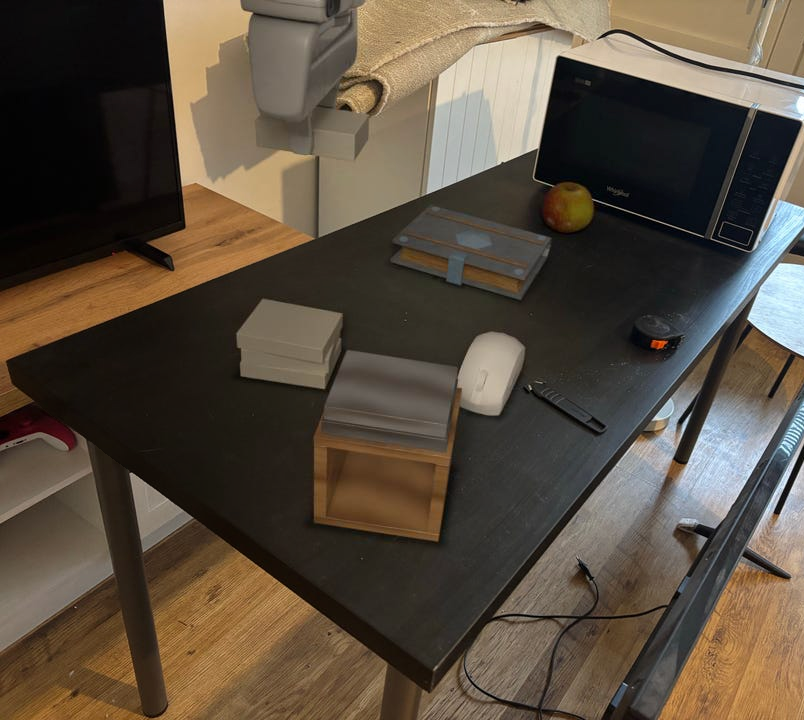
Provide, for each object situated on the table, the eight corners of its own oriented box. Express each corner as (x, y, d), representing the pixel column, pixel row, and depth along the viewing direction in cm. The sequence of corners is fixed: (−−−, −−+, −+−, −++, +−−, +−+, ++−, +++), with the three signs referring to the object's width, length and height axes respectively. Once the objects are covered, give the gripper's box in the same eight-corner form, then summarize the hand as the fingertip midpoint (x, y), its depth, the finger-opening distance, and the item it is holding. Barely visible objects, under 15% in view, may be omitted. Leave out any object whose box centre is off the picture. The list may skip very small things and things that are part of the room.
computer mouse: (447, 406, 87) (453, 363, 83) (479, 349, 97) (485, 309, 94) (499, 422, 86) (507, 379, 82) (526, 362, 96) (534, 322, 93)
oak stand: (438, 541, 70) (454, 431, 62) (313, 522, 70) (313, 410, 62) (450, 469, 78) (465, 363, 70) (338, 452, 78) (341, 344, 70)
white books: (326, 392, 86) (326, 350, 83) (237, 378, 86) (233, 335, 82) (344, 349, 93) (345, 309, 90) (261, 336, 93) (259, 295, 90)
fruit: (538, 213, 135) (546, 172, 131) (587, 220, 136) (596, 179, 131) (538, 236, 128) (547, 193, 123) (590, 244, 128) (600, 201, 123)
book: (548, 258, 121) (553, 230, 118) (519, 303, 108) (525, 274, 105) (430, 225, 125) (433, 198, 122) (389, 265, 112) (391, 235, 109)
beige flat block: (354, 162, 67) (354, 135, 65) (256, 146, 67) (254, 119, 65) (368, 139, 72) (369, 114, 70) (277, 125, 72) (276, 99, 70)
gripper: (309, -48, 69) (311, 100, 77) (230, -10, 53) (242, 173, 61) (376, -38, 69) (370, 109, 77) (317, 3, 53) (317, 185, 61)
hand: (313, 138), depth 69 cm, fingers closed on beige flat block, 6 cm apart
